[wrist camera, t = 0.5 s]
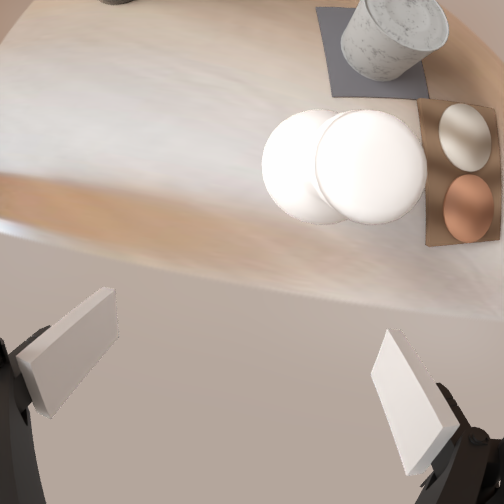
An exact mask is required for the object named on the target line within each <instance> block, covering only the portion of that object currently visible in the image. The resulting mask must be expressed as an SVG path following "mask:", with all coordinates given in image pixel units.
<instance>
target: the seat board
mask: <svg viewBox="0 0 504 504" xmlns="http://www.w3.org/2000/svg"><path fill="white" fill-rule="evenodd" d="M417 105H418V112H419V119H420V127H421V136H422V145H423V149H424V153H425V157H426V160H427V179H426V184H425V191H426V244H425V245H427V246H429V247H432V246H443V245H453V244H464V243H474V242H484V241H494V240H500V224H501V169H500V153H499V142H498V132H497V124H496V117H495V110H494V109H493V108H488V107H482V106H477V105H471V104H465V103H458V102H451V101H444V100H435V99H426V98H419V99H417Z"/></svg>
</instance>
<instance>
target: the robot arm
mask: <svg viewBox="0 0 504 504" xmlns="http://www.w3.org/2000/svg"><path fill="white" fill-rule="evenodd" d="M99 1H101V2H103V3H105V4H113V5H114V4H122V3H127V2H130V1H133V0H99ZM118 338H119V331H118V320H117V307H116V290H115V289H111V288H107V287H101V288H100V289H99V290H97V291H96V292H95V293H93V294H92V295H91V296H90V297H88V298H87V299H86V300H84V301H83V302H82V303H80V304H79V305H78V306H77V307H75V308H74V309H73V310H72V311H70V312H69V313H68V314H66V315H65V316H64V317H63V318H61V319H60V320H59V321H58V322H56V323H55V324H54V325H53V326H50V325H49V326H47V327H44V328H42V329H39V330H38V331H37V332H36V333H34V334H33V335H32V337H30V338H28V339H27V340H26V341H24V342H23V343H22V344H21V345H19V346H18V347H17V348H16V349H15V350H13V351H12V352H11V353H10V354H9V355H8V353H7V350H6V347H5V344H4V341H3V340H2V338H0V504H46V501H45V497H44V493H43V489H42V485H41V481H40V476H39V471H38V466H37V461H36V456H35V450H34V444H33V436H32V429H31V421H30V420H31V419H30V412H29V409H28V405H29V404H30V403H31V402H33V405H34V407H35V409H36V412H37V413H39V414H41V415H43V416H45V417H47V418H49V419H52V417H53V416H54V415H55V414H56V412H57V411H58V410H59V408H60V407H61V406H62V405H63V404H64V402H65V401H66V400H67V399H68V397H69V396H70V395H71V394H72V392H73V391H74V390H75V389H76V388H77V386H78V385H79V384H80V383H81V382H82V380H83V379H84V378H85V377H86V375H87V374H88V373H89V372H90V370H92V368H93V367H94V366H95V365H96V364H97V362H98V361H99V360H100V359H101V358H102V356H103V355H104V354H105V353H106V352H107V351H108V349H109V348H110V347H111V346H112V345H113V344H114V342H115V341H116V340H117V339H118ZM371 377H372V380H373V382H374V385H375V387H376V390H377V393H378V395H379V398H380V400H381V403H382V406H383V409H384V411H385V414H386V417H387V419H388V423H389V425H390V428H391V431H392V434H393V437H394V440H395V443H396V446H397V449H398V451H399V455H400V458H401V461H402V464H403V466H404V470H405V473H406V476H410V475H416V474H422V473H424V471H425V470H426V469H427V468H428V467H429V466H430V464H431V465H432V467H433V470H434V471H433V472H432V473H431V475H429V477H428V478H427V479H426V480H425V481H424V482H423V483H422V484H421V486H420V487H423V486H424V485H425V486H424V488H423V490H422V491H421V493H420V495H419V497H418V499H417V501H416V503H415V504H504V438H503V439H502V440H501V439H490V437H489V435H488V434H487V433H486V432H485V431H484V430H482V429H480V428H477V427H471V426H470V424H469V423H468V421H467V419H466V418H465V416H464V415H463V413H462V411H461V409H460V408H459V406H457V403H456V401H455V400H454V399H453V396H452V395H451V393H450V392H449V390H448V389H447V388H446V387H445V386H443V385H442V384H441V383H435V381H434V380H433V378H432V377H431V375H430V374H429V372H428V370H427V369H426V367H425V366H424V364H423V363H422V361H421V359H420V358H419V356H418V355H417V353H416V352H415V350H414V349H413V347H412V346H411V344H410V343H409V341H408V339H407V338H406V337H405V335H404V334H403V332H402V331H401V330H398V329H387V331H386V334H385V337H384V340H383V343H382V345H381V348H380V351H379V354H378V356H377V359H376V362H375V364H374V367H373V369H372V372H371ZM500 480H501V482H500V487H499V481H500Z"/></svg>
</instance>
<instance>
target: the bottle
mask: <svg viewBox="0 0 504 504" xmlns="http://www.w3.org/2000/svg"><path fill="white" fill-rule="evenodd" d="M262 172H263V179H264V182H265V185H266V188H267V191H268V193H269V194H270V196H271V197H272V199H273V200H274V202H275V203H276V204H277V205H278V206H279V207H280V208H281V209H282V210H283V211H284V212H286V213H287V214H288V215H290V216H292V217H294V218H296V219H298V220H300V221H302V222H306V223H311V224H315V225H327V224H335V223H339V222H342V221H345V220H348V219H349V220H351V221H353V222H357V223H361V224H365V225H377V224H386V223H389V222H392V221H395V220H398V219H399V218H401V217H402V216H404V215H405V214H407V213H408V212H409V211H410V210H411V209H412V208H413V207H414V206H415V204H416V203H417V202H418V201H419V199H420V197H421V195H422V193H423V190H424V188H425V184H426V179H427V160H426V157H425V153H424V149H423V147H422V145H421V143H420V141H419V140H418V138H417V136H416V135H415V133H414V132H413V131H412V130H411V129H410V128H409V127H408V126H407V125H406V124H405V123H404V122H403V121H401V120H400V119H398V118H397V117H395V116H393V115H391V114H388V113H385V112H382V111H378V110H361V109H360V110H352V111H347V112H343V113H338V112H334V111H330V110H326V109H319V110H308V111H304V112H301V113H297V114H294V115H293V116H291V117H289V118H288V119H286V120H285V121H283V122H281V124H280V125H279V126H278V127H277V128H276V129H275V130H274V131H273V132H272V133H271V135H270V137H269V139H268V141H267V143H266V145H265V148H264V153H263V158H262Z"/></svg>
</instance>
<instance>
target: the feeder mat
mask: <svg viewBox="0 0 504 504" xmlns="http://www.w3.org/2000/svg"><path fill="white" fill-rule="evenodd" d="M355 10H356V8H341V7H316V12H317V16H318V21H319V25H320V30H321V35H322V40H323V45H324V50H325V56H326V61H327V67H328V73H329V79H330V85H331V92H332V97H382V98H401V99H415V100H417V99H419V98H426V99H429V95H428V90H427V84H426V79H425V74H424V70H423V65H422V61H421V60H420V61H419V62H418V63H416V64H415V65H413V66H412V67H411V68H409V69H408V70H406V71H405V72H404V73H403V74H402V75H401V76H399V77H398V78H396V79H394V80H391V81H384V82H383V81H375V80H372V79H369V78H367V77H365V76H363V75H361V74H359V73H358V72H357V71H355V70H354V69H353V68H352V67H351V66H350V65H349V63H348V62H347V60H346V59H345V57H344V55H343V52H342V50H341V37H342V34H343V32H344V30H345V29H346V28H347V26H348V24H349V22H350V20H351V18H352V16H353V14H354V12H355Z"/></svg>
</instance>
